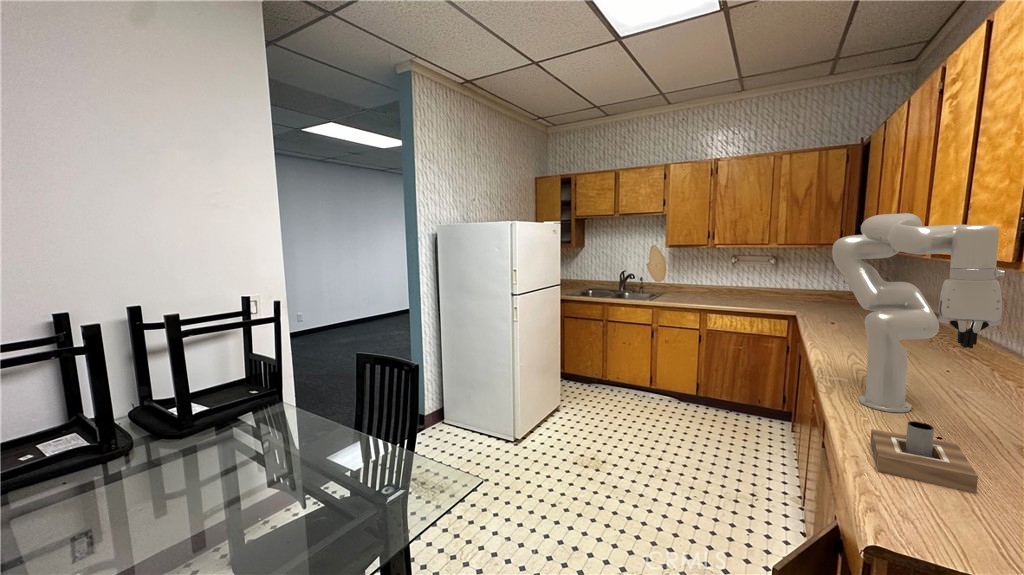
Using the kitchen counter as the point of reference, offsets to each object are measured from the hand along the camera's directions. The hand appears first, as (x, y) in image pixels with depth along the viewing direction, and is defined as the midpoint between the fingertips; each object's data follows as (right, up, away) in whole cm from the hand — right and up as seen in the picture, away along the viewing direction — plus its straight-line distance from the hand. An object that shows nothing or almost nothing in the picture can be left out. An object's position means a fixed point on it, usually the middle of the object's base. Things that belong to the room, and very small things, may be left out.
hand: (966, 346), depth 102 cm
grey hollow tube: (-16, -29, -3) cm, 33 cm away
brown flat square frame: (-16, -29, -3) cm, 33 cm away
